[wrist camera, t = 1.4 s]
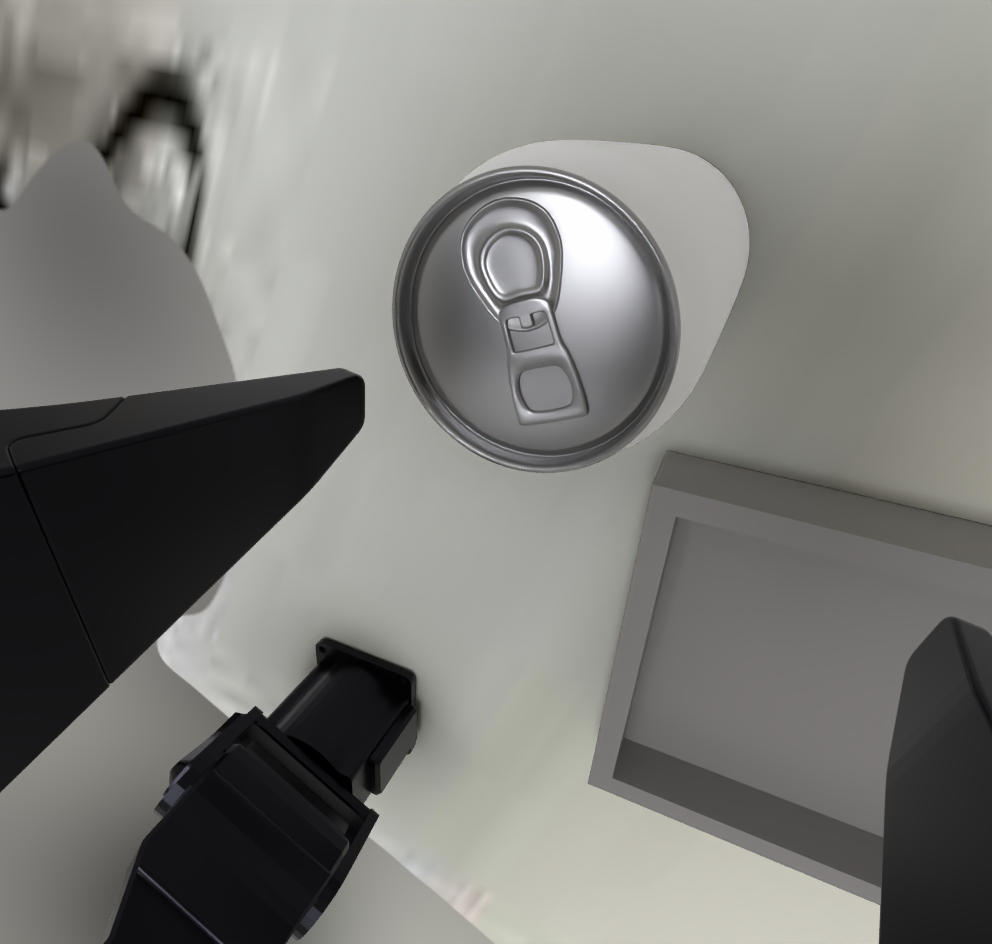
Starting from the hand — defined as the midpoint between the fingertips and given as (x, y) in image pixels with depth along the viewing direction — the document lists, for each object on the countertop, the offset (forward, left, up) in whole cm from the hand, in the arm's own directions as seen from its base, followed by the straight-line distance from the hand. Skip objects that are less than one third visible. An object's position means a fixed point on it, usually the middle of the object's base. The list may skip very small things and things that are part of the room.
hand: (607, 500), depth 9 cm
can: (-2, +1, -15) cm, 15 cm away
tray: (+8, -14, -15) cm, 21 cm away
